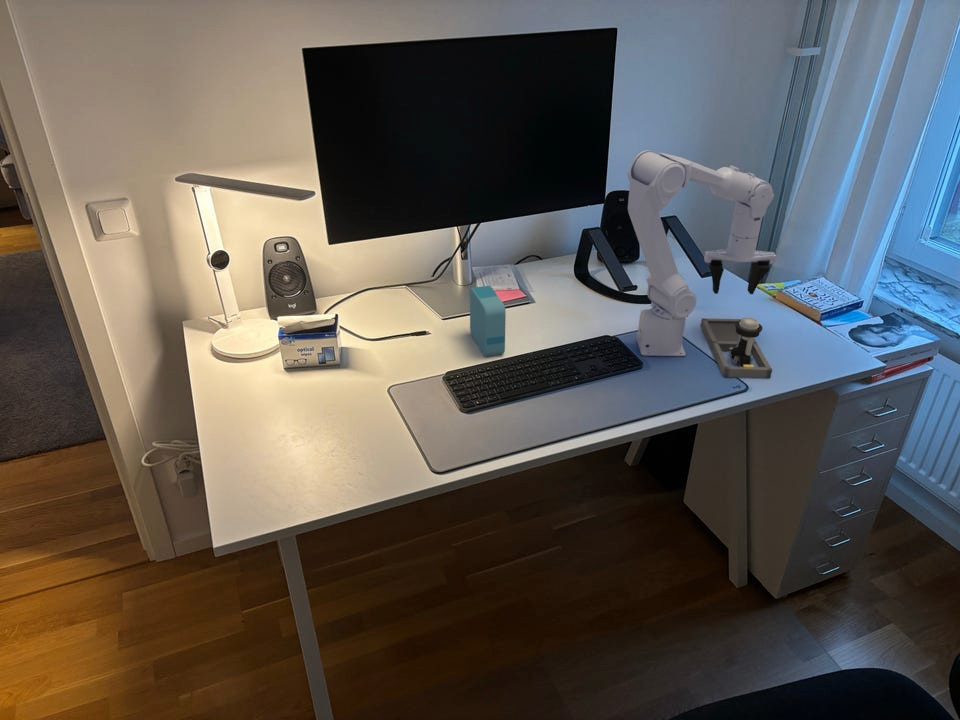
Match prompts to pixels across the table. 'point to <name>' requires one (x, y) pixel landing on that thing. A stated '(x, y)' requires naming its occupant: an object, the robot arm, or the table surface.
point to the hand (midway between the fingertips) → (732, 292)
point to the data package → (487, 320)
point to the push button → (745, 340)
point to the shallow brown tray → (724, 338)
